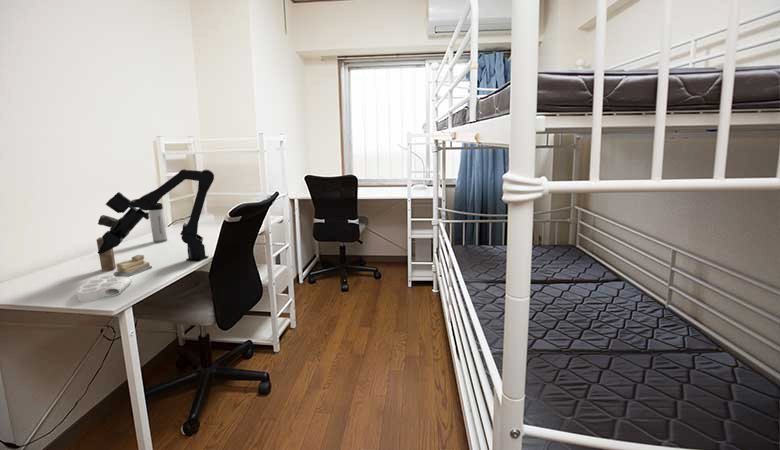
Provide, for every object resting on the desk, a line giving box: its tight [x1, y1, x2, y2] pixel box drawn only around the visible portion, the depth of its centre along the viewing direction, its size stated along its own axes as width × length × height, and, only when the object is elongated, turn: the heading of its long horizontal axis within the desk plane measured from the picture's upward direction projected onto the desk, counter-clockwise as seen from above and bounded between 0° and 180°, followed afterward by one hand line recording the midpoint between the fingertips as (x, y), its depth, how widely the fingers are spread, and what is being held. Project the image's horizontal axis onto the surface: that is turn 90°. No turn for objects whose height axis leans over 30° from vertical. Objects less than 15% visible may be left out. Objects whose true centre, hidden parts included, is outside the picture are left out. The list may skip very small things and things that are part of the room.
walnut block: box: [96, 236, 117, 272], centre depth 165 cm, size 4×4×13 cm
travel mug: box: [148, 202, 168, 244], centre depth 208 cm, size 6×7×20 cm
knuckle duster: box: [74, 274, 133, 302], centre depth 142 cm, size 3×18×15 cm
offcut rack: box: [112, 254, 153, 277], centre depth 162 cm, size 7×11×6 cm, turn 161°
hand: (101, 250), depth 164 cm, fingers open, 9 cm apart
